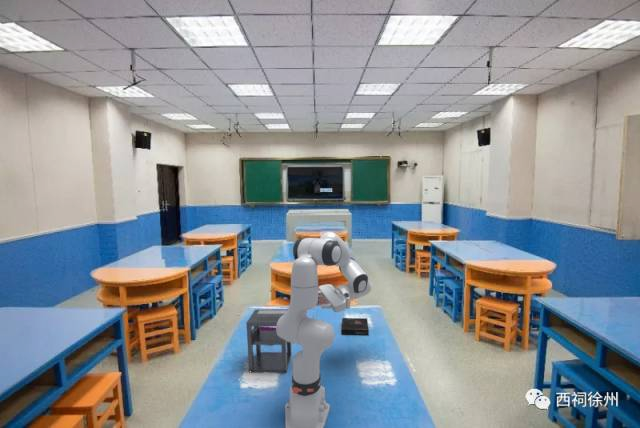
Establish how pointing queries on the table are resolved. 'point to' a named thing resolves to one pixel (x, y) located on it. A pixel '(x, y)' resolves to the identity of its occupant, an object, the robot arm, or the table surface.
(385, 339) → the table surface
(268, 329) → the mounting bracket
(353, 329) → the portable cd player
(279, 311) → the strip
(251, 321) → the rack
